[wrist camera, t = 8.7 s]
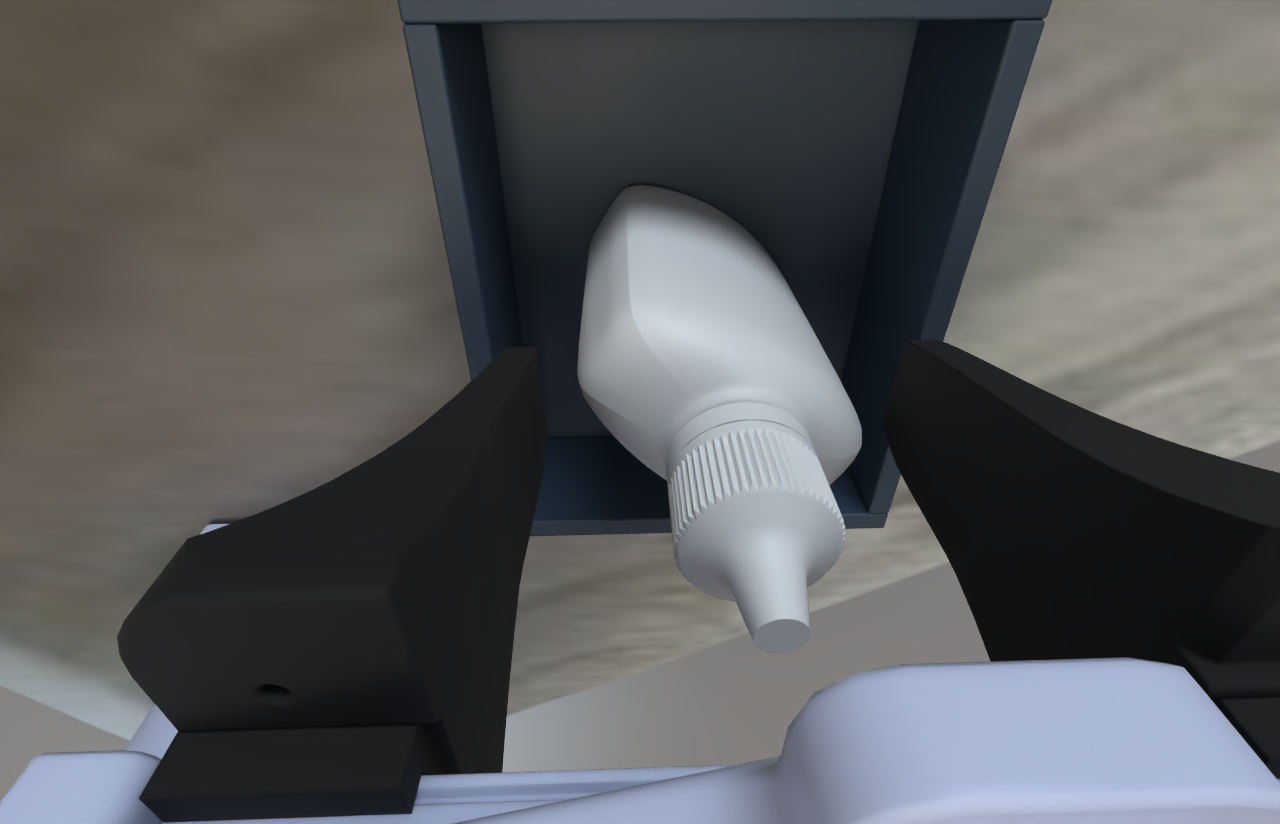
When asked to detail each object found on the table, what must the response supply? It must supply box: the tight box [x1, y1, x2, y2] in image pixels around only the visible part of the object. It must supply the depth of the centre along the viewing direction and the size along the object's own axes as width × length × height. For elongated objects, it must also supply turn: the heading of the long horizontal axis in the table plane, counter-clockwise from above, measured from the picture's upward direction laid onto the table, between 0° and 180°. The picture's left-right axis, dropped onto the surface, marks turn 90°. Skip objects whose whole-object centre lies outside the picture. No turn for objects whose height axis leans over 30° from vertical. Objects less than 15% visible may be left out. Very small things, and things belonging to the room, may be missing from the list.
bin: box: [398, 0, 1052, 536], centre depth 16 cm, size 13×11×4 cm
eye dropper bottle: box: [577, 185, 862, 653], centre depth 12 cm, size 4×6×12 cm
